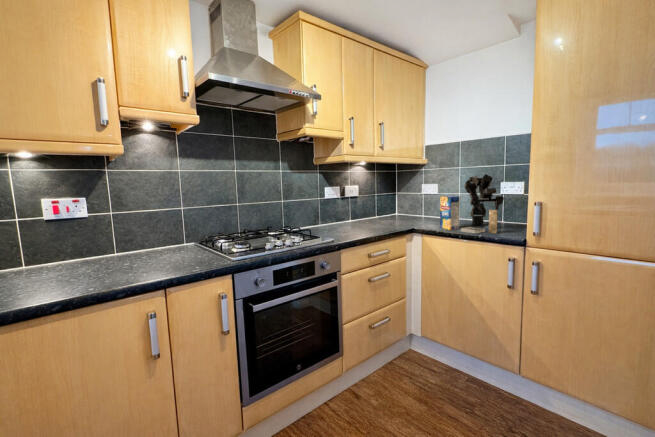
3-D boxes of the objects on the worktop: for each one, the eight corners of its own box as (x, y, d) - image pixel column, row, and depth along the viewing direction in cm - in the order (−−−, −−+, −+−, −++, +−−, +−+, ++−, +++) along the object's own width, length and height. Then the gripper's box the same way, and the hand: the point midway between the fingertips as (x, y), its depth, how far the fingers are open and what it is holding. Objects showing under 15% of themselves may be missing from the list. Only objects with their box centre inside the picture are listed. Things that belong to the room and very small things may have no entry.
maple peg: (487, 232, 188) (487, 210, 186) (491, 231, 190) (492, 209, 188) (493, 233, 184) (494, 210, 182) (498, 232, 186) (499, 210, 185)
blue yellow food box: (450, 230, 201) (450, 196, 199) (439, 227, 212) (440, 196, 209) (459, 229, 203) (459, 196, 201) (448, 227, 214) (448, 195, 211)
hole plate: (460, 231, 195) (460, 228, 195) (470, 229, 200) (470, 226, 200) (474, 233, 187) (474, 230, 186) (485, 231, 191) (485, 228, 191)
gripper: (472, 184, 197) (476, 202, 188) (503, 183, 194) (509, 201, 184) (468, 195, 206) (472, 213, 196) (498, 195, 202) (504, 213, 193)
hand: (489, 210), depth 192 cm, fingers open, 9 cm apart
